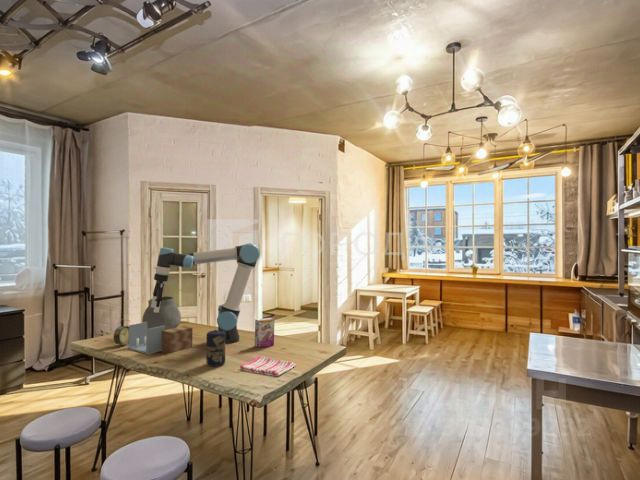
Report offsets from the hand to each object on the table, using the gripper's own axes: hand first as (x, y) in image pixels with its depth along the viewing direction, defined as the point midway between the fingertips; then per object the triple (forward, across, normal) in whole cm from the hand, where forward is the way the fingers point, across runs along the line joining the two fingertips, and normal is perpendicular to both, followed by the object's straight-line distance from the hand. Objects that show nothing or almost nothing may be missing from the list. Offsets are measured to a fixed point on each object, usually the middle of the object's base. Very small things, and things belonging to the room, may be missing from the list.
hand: (154, 309), depth 216 cm
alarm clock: (+28, -19, -11) cm, 35 cm away
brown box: (+21, +5, +16) cm, 27 cm away
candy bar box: (+12, +24, +62) cm, 68 cm away
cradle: (+24, -4, +1) cm, 25 cm away
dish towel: (+13, +62, +49) cm, 80 cm away
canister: (+17, +44, +28) cm, 55 cm away
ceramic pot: (+24, -37, +13) cm, 46 cm away
